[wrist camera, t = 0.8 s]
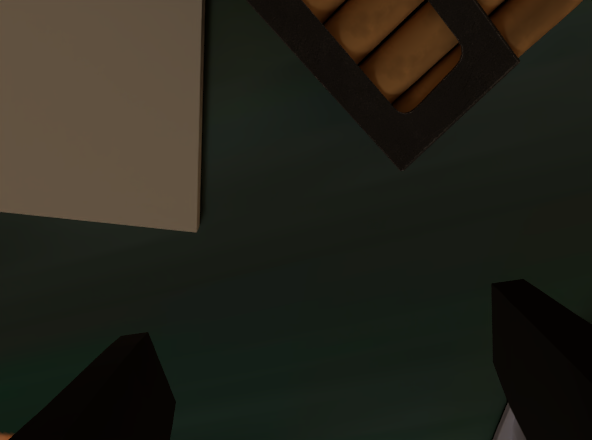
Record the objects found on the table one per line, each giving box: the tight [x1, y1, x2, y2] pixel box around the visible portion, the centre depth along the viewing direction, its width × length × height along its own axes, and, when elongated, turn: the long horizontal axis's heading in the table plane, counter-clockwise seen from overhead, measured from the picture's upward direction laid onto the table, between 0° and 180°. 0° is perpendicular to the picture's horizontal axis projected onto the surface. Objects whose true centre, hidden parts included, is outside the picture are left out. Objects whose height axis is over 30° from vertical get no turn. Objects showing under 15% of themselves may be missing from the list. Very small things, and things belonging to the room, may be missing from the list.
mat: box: [0, 0, 205, 232], centre depth 17 cm, size 12×13×1 cm
